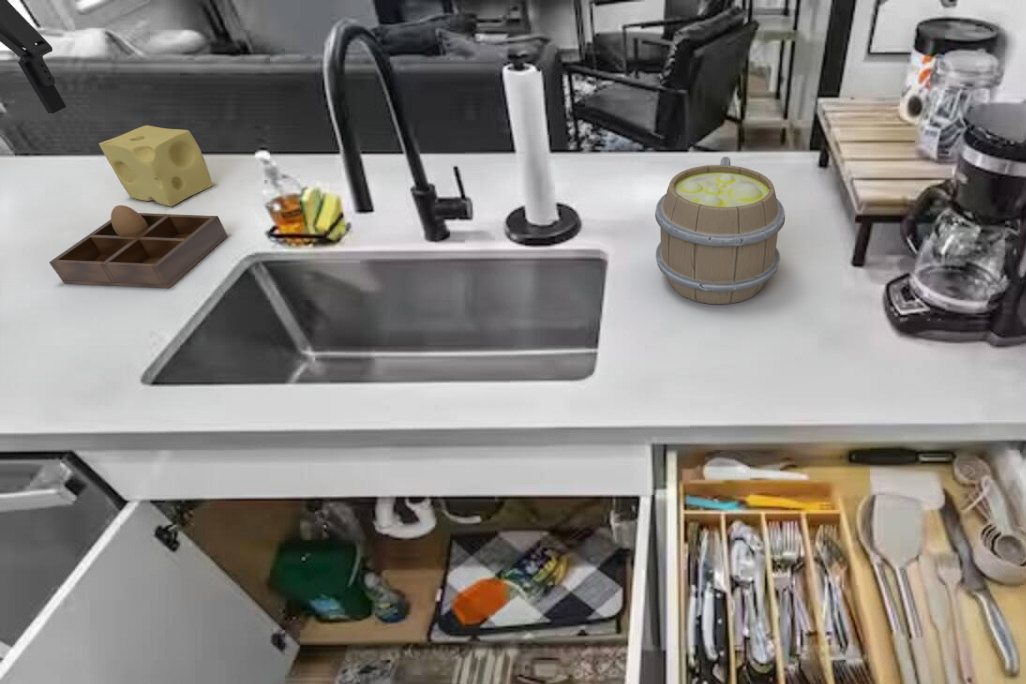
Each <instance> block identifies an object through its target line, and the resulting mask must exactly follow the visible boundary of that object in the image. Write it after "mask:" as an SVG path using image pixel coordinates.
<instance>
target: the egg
mask: <svg viewBox="0 0 1026 684" xmlns="http://www.w3.org/2000/svg"><path fill="white" fill-rule="evenodd" d="M139 213H140V212H137V211H136V210H135V209H133V208H131V207H130V206H127V205H121V204H119V205H116V206H114V207H113V208H112V210H111V214H110V220H111V223H112V226H113V228H114V230H115V232H116V233H117V234H118V235H119V236H133V237H137V236H139V235H140V234H141V233H143V232H144V231H145V230H147V229H148V228H149V227H148V224H147V223H146V221H145V220H144V218H143V217H142V216H141V215H140V214H139Z"/></svg>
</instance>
